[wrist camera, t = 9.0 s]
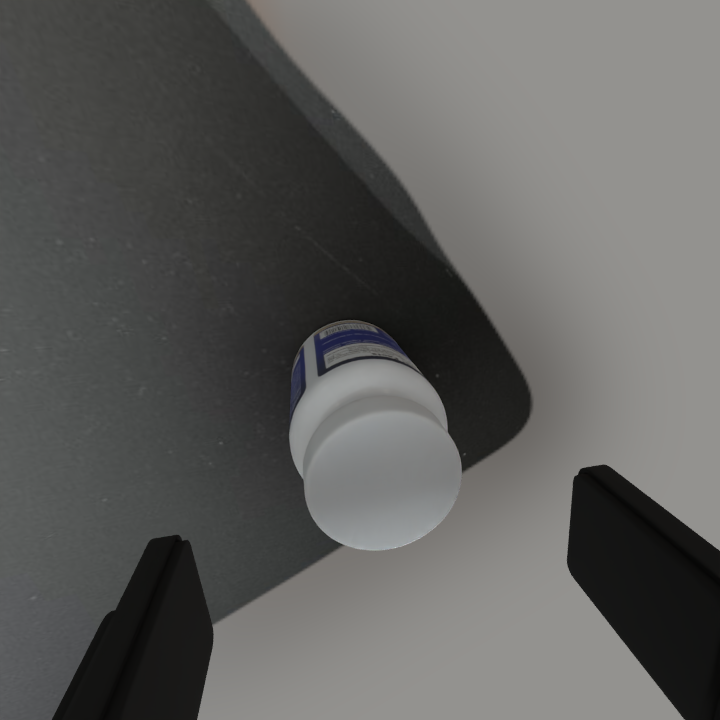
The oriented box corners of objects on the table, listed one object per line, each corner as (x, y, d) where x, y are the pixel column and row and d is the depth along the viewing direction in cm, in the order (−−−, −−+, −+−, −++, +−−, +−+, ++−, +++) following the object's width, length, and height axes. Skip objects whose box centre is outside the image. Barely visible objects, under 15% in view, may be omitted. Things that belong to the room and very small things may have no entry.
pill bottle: (354, 441, 23) (389, 596, 13) (269, 380, 21) (240, 506, 11) (425, 363, 22) (519, 469, 12) (343, 293, 20) (377, 352, 11)
